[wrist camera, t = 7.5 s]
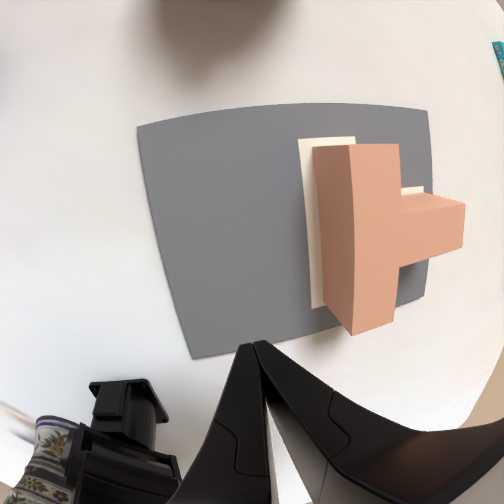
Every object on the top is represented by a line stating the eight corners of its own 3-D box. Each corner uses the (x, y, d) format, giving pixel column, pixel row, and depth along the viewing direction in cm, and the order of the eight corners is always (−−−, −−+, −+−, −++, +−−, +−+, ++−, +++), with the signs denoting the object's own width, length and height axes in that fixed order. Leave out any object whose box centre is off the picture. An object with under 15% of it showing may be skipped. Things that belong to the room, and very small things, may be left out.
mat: (420, 294, 25) (423, 296, 24) (192, 355, 22) (192, 359, 22) (423, 111, 19) (427, 110, 18) (138, 127, 16) (136, 126, 15)
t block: (419, 272, 23) (453, 295, 19) (323, 301, 22) (351, 336, 17) (421, 143, 19) (464, 146, 14) (312, 146, 18) (348, 145, 13)
